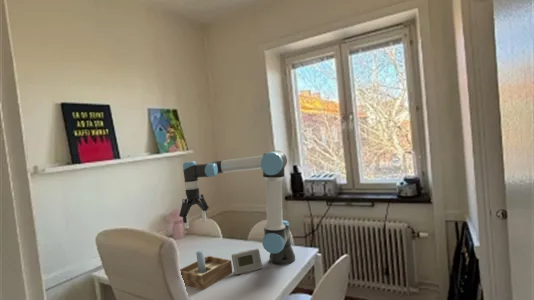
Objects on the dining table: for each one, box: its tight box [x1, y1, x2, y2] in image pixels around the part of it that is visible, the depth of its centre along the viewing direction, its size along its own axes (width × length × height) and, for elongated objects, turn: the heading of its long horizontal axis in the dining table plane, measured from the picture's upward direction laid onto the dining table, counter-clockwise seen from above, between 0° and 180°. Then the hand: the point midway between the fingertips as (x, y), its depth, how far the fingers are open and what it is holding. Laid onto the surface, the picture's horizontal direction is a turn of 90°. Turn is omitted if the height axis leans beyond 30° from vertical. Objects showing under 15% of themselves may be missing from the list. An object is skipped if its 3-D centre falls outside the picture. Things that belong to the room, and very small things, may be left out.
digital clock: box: [231, 248, 263, 276], centre depth 179 cm, size 16×9×11 cm, turn 99°
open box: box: [179, 255, 233, 291], centre depth 174 cm, size 18×22×7 cm
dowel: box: [196, 250, 206, 274], centre depth 176 cm, size 4×4×14 cm
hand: (196, 224), depth 186 cm, fingers open, 13 cm apart
